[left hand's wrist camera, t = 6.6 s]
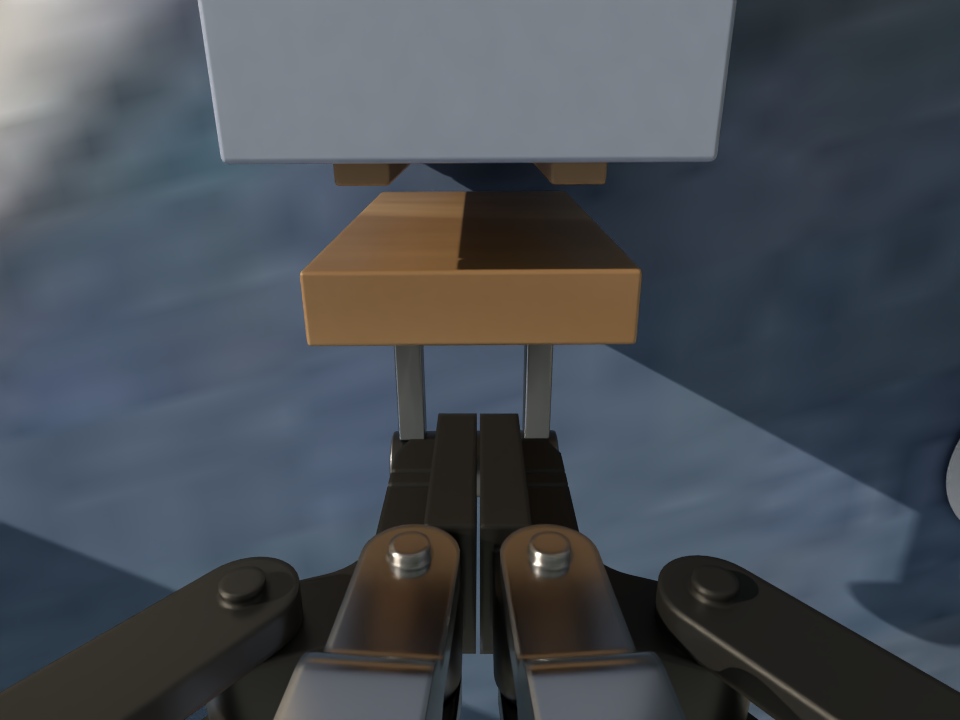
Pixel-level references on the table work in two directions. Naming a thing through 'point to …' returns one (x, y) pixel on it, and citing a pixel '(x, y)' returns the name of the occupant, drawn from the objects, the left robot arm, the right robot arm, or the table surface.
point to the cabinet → (467, 80)
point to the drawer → (471, 283)
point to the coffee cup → (954, 480)
